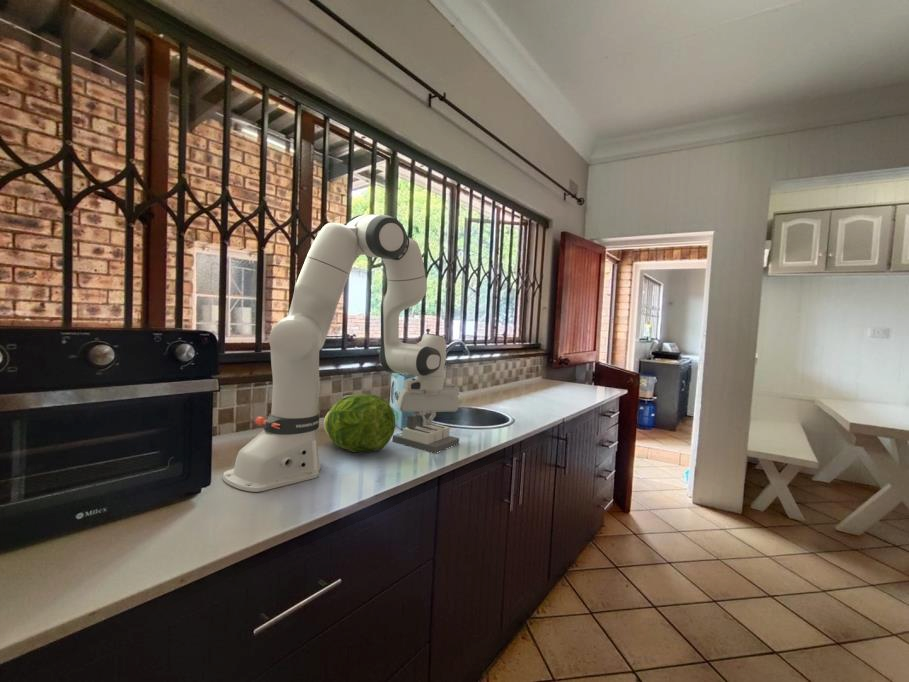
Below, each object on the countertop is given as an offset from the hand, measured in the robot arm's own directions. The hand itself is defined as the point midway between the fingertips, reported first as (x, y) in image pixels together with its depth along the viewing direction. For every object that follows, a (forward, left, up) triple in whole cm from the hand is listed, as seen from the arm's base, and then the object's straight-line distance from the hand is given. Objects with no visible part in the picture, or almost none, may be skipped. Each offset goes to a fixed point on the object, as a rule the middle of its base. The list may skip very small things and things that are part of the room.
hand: (427, 424), depth 134 cm
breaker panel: (0, 0, -6) cm, 6 cm away
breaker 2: (+4, +3, -1) cm, 5 cm away
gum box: (+13, +21, -6) cm, 26 cm away
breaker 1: (-4, +3, -1) cm, 5 cm away
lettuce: (-21, +11, -6) cm, 25 cm away
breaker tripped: (0, +3, -1) cm, 3 cm away
